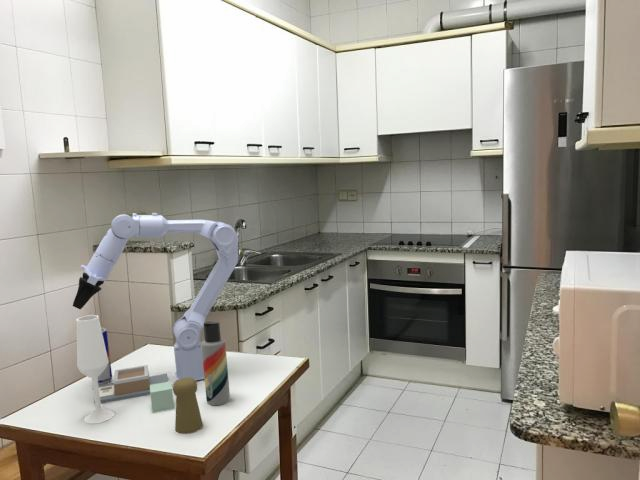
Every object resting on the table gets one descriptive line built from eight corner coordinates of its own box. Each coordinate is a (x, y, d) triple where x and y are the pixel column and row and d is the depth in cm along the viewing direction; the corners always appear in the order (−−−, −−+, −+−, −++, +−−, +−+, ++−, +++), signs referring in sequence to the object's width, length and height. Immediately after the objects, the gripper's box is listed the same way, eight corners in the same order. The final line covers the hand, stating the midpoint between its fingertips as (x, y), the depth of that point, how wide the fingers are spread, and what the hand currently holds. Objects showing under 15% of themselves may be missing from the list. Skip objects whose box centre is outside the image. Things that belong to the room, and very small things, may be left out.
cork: (177, 422, 122) (172, 375, 121) (204, 419, 123) (200, 373, 121) (172, 435, 116) (167, 386, 115) (201, 432, 117) (196, 384, 115)
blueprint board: (167, 376, 150) (165, 360, 149) (169, 391, 140) (167, 374, 139) (97, 388, 144) (95, 371, 144) (94, 404, 134) (92, 386, 133)
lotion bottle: (202, 404, 131) (194, 324, 128) (214, 394, 136) (207, 317, 133) (222, 406, 129) (215, 325, 126) (234, 396, 134) (227, 318, 131)
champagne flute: (100, 408, 132) (88, 313, 128) (120, 412, 129) (109, 315, 125) (77, 420, 126) (64, 321, 122) (98, 425, 123) (86, 323, 119)
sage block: (172, 400, 134) (170, 381, 133) (174, 408, 129) (172, 388, 129) (152, 404, 133) (149, 384, 132) (152, 412, 128) (150, 392, 127)
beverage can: (105, 386, 145) (99, 332, 143) (88, 386, 146) (82, 332, 144) (116, 379, 150) (110, 327, 148) (99, 378, 151) (93, 327, 149)
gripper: (92, 246, 143) (66, 292, 142) (88, 253, 129) (58, 303, 128) (117, 259, 145) (91, 303, 144) (115, 266, 132) (87, 315, 130)
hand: (78, 304), depth 136 cm, fingers open, 7 cm apart
